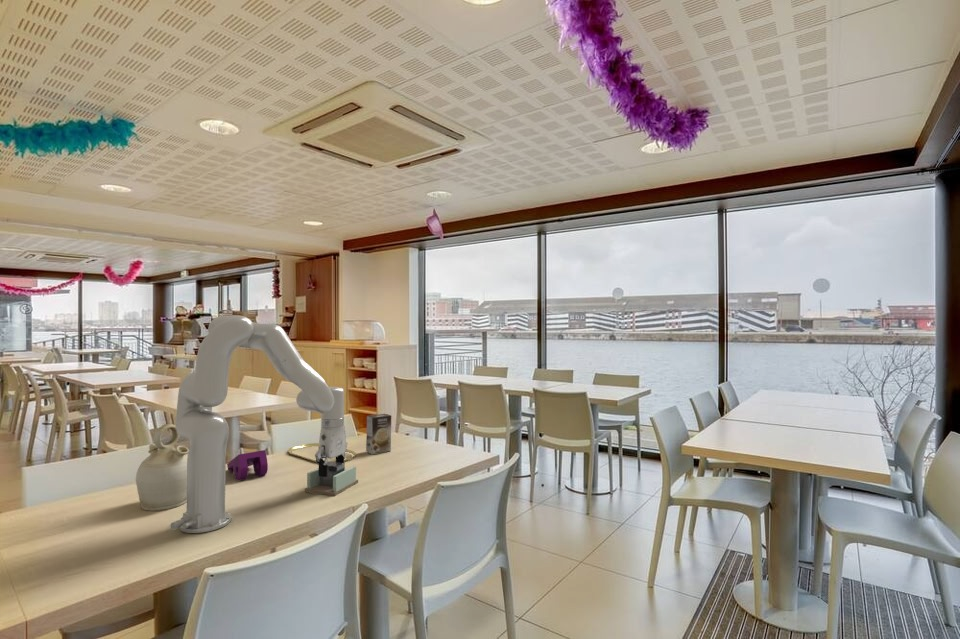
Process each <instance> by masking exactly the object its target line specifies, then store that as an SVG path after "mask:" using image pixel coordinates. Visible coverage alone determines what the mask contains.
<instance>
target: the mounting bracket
mask: <svg viewBox="0 0 960 639" xmlns="http://www.w3.org/2000/svg"><path fill="white" fill-rule="evenodd" d="M268 464H269V463H268V458H267V451H266V449H262V450H258V451H250V452H245V453H241V454H237V455H236V456H235V457H233V458H232V459H231V460H230V461H229V462H227V464H226V466H227V471H233V474H234V476H233V477H234V479H235V480H237V482H238V481H243V480H246V479H247V478H248V474H249V467H251V466H253V472H254V474H255V476H257V477H262V476H266V475H267V473H268V470H269V469H268V468H269V466H268Z"/></svg>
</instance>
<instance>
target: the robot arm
mask: <svg viewBox="0 0 960 639" xmlns="http://www.w3.org/2000/svg"><path fill="white" fill-rule="evenodd" d="M207 330H208V331H207V332H208V334H206V336H205V337H204V338H203V339H202V341H201V344H200V345H199V347H198V351H197V355H196V360H195V361H196V362H195V367H194V372H190V374H188V375H186V376H185V377H184V379H183V380H182V381H181V383H180V385H179V388H178V392H177V393H178V395H177V403H176V404H177V405H176V412H175V413H176V414H175V417H176V418H175V426H176V429H177V432H178V434H179V438H182V439H183V440H185V441H187V442H189V448H188V449H189V452H188V453H187V454H188V458H187V502H186V511H185V512H183V513H182V517H181V518H180V519H179V520H178V519H177V520H176V521H173V522H171V523H170V525H169V526H170V529H171V530H172V531H174V530H177V529H179V530H180V531H181V532H183V533H187V534H201V533H202V534H203V533H207V532H212V531H215V530H218V529H221V528H223V527H225V526H227V525H228V524H230V523H231V520H232V515H231V514H230V513H229V512H226V473H227V472H226V466H227V464H226V460H227V459H226V458H227V445H228V440H229V435H230V427H229V423H228V421H227V420H226V417H224V416H223V415H221V414H219V413H217V412H214V411H213V407H214V408H215V407H217V406H219V405H222V404H223V403H224V401H225V400H226V398H227V395H228V390H229V376H230V375H229V374H230V364H231V359H232V357H233V353H234V352H235V351H236V349H238V347H240V348H245V349H251V350H260V351H262V352H263V353H264V354H265V355H266V358H268V360H269V361H270V363H271V364H272V367H274V369H275V370H276V372H277V373H278V374H279V375H280V376H281V377H282V378H283V379H285V380H287V381H288V382H290V383H292V384H294V385H295V386H296V387H298V388H299V389H300V392H299V393H297V396H296V404H297V405H298V407H299V408H301V409H302V410H304V411H308V412H314V413H319V414H320V415H321V416H320V422H321V423H320V432H319V441H318V443H319V447H318V450H317V451H316V452H315V454H314V457H315V460H316V461H317V463H316V465H318V468H319V471H318V475H319V476H321V477H327V473H328V465H326V464H327V461H329V459H335V461H336V462H339V463H345V462H344V459H345V458H346V453H345V452H346V449H347V447H348V442H347V435H346V434H347V433H346V427H345V425H344V423H345V421H344V420H345V419H344V418H345V389H344V388H343V387H339V386H329V385H328V384H327V381H325V379H324V378H323V377H322V376H321V375H320V374H319V372H317V371H316V370H315V369H314V368H313V367H312V366H311V365H310V364H308V362H306V361H305V360H304V358H303V357H302V356H301V354H300V352H299V351H298V350H297V348H296V347H295V345H294V343H293V342H292V341H291V338H290V337H289V335H288V334H287V333H286V331H285V330H284V328H283V327H282V326H280V325H278V324H275V323H261V322H254V321H253V322H252V320H251V319H250V318H249V317H247V316H244V315H240V314H237V315H236V314H235V315H234V314H233V315H232V314H231V315H219V316H217V317H214V318H213V319H212V320H211V321H210V323H209V324H208V329H207Z"/></svg>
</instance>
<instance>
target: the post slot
mask: <svg viewBox="0 0 960 639" xmlns="http://www.w3.org/2000/svg"><path fill="white" fill-rule="evenodd" d="M318 471H319V467H318V468H316V469H313V470H311V471H309V472H307V474H306V478H307V479H306V487H305V488H304V492H305V493H311V494H319V495H326V496H333V497H335V496H337V495H339V494H341V493H342V492H344V491H346V490H348V489H350V488H351V487H353V486H355V485H356V484H358V483H359V479H357V466H355V465H353V466H350V467H348V468H346V469H345V471H343V472H341V473H339V474H337V475H335V476H333V487H330V486H323V485H319V484H320V476H319V475H318Z"/></svg>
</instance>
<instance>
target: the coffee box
mask: <svg viewBox="0 0 960 639" xmlns="http://www.w3.org/2000/svg"><path fill="white" fill-rule="evenodd" d="M365 442H366V444H365V446H366V447H365V452H366V451H367V453H368V452H369V453H368V454H370V453H371V455H377V454H376V453H378V454H382V453H381V452H384V453H388V452H387V451H390V452H391V451H392V448H391V447H392V445H391V444H392V414H391V415H390V414H386V413H380V414H379V413H378V414H370V415H369V414H368V415H366V441H365Z"/></svg>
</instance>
